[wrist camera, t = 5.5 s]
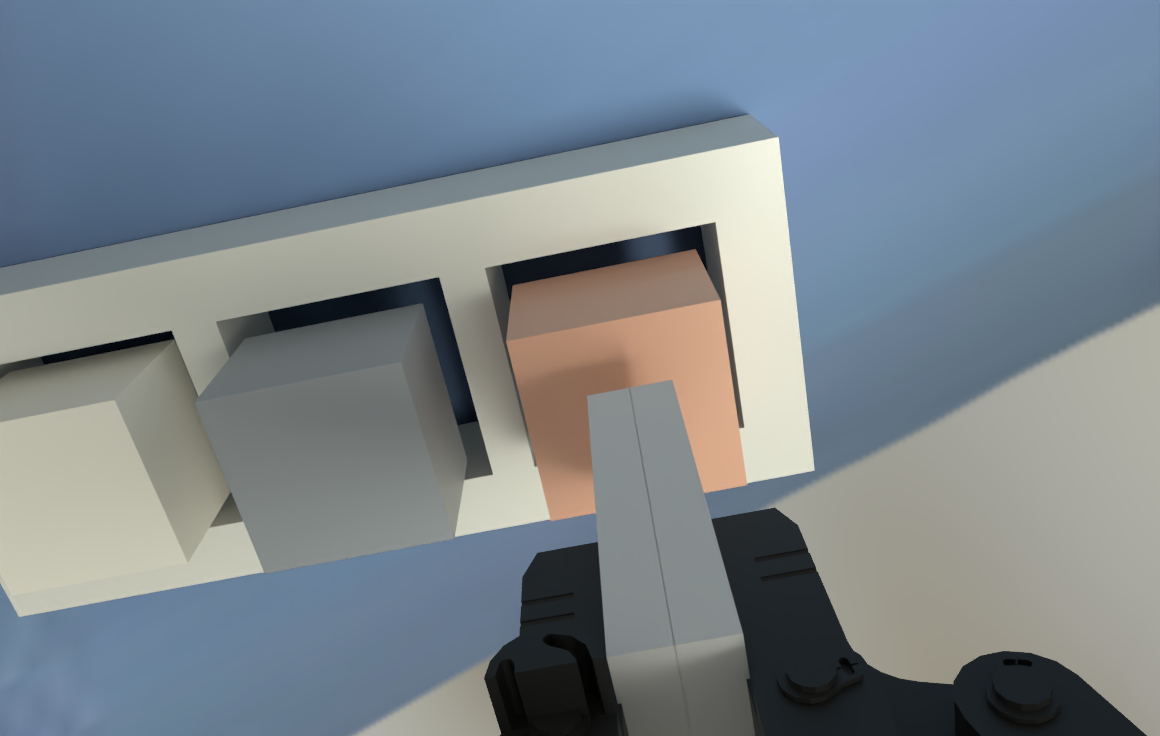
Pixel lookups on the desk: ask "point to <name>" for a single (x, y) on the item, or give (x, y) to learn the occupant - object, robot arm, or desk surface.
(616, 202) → the keypad housing
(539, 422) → the key terracotta
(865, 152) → the desk surface
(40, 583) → the key ivory
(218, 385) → the key slate
